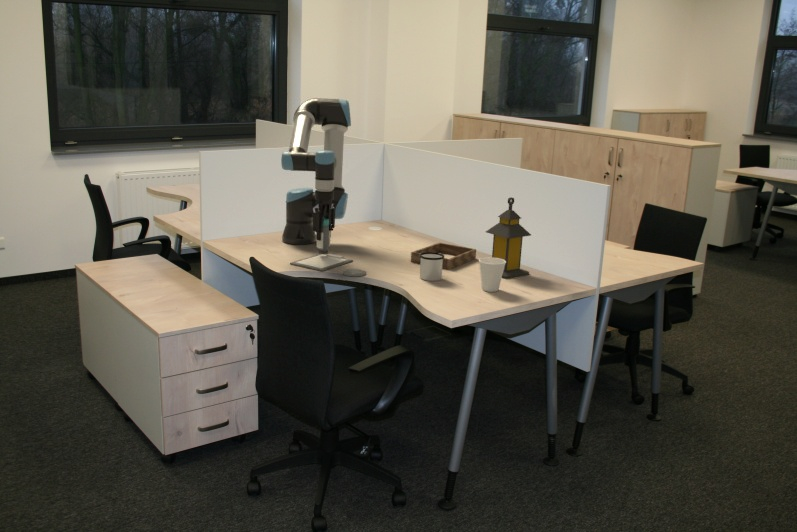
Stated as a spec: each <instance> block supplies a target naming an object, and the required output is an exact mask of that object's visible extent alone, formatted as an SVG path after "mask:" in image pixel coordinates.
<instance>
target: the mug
mask: <svg viewBox="0 0 797 532" xmlns="http://www.w3.org/2000/svg"><path fill="white" fill-rule="evenodd" d="M419 256H420V258H421V263H419V264H420V266H419V267H420V268H419V278H420V279H421V280H422V281H427V282H437V281H440V280H442V277H443V268H442V264H443V259H444V258H445V254H444V253H441V252H439V253H435V252H424V253H421V254H420V255H419Z"/></svg>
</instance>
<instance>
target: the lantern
mask: <svg viewBox="0 0 797 532" xmlns="http://www.w3.org/2000/svg"><path fill="white" fill-rule="evenodd" d="M507 204H508V209H506V210H505V211H503V212H502V213H500V215H498V216H497V218H499V222H498V223H496V224H494V225H493V226H492V227H490V228H489V229H487V230H486V231H485V233H487V234H491V235H493V238H492V240H493V241H492V250H491V251H492V252H491V257H493V258H500V259H503V260H505V261H506V263H505V267H504V271H503V274H502V278H501V279H505V280H509V279H515V278H519V277H523V276H529V275H530V271H528V270H525V269H522V268H521V261H522V260H521V259H522V248H523V237H530V236H532V234H531V233H530V232H529V231H528V230H526V229H525V227H523V226H522V224H520V220H521V219H522V217H521V216H520V215H519V214H518V213H517V212H516V211H515V210H513V206H514V204H515V198H514V197H508V198H507Z"/></svg>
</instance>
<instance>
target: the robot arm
mask: <svg viewBox="0 0 797 532" xmlns="http://www.w3.org/2000/svg"><path fill="white" fill-rule="evenodd" d="M350 108H351V107H350V103H349V101H348V100H347V99H340V98H321V97H320V98H317V97H316V98H315V97H314V98H310V99H307V100H305V101H304V102H303V103H301V104H300V105H298V107H297V108H296V110H295V112H294V114H293V119H292V122H293V129H292V134H291V138H290V143H289V147H288V151H282V153H281V159H280V160H281V168H282V170H285V171H291V172H293V171H294V172H315V173H314V175H315V177H314V179H315V181H314V182H315V184H314V185H315V186H314V188H311V187H299V188H293V189H291V190H288V191H287V192H286V196H285V197H286V201H285V204H286V205H285V206H286V207H285V208H286V209H285V210H286V211H285V214H286V215H285V226H284V229H283V233H282V235H281V240H282V242H283V243H286V244H290V245H310V244H314V243H316V248H317V249H318V248H321V249H323V232H322V228H323V221H324V218H327V219H329V241H328V248H329V247H331V235H332V231H334V229H335V227H336V223H335V222H336V220H341V219H343V218H344V217H345V215H346V211H347V206H348V205H347V204H348V197H349V194H348V193H347V192H345V191H346V189H345V187H343V185H342V182H343V181H342V180H343V165H344V164H343V162H344V161H343V160H344V139H345V138H344V137H345V133H346V132H347V131H348V127H351V125H352V121H351V118H352V117H351V109H350ZM315 125H316V126H317V125H318V126H321V129H322V131H323V132H324V137H323V138H324V139H323V141H324V142H323V149H322V150H317V151H316V152H308V149H309V144H310V138H311V133H312V128H313V127H314V126H315ZM314 189H315V190H314Z"/></svg>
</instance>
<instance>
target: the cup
mask: <svg viewBox="0 0 797 532" xmlns="http://www.w3.org/2000/svg"><path fill="white" fill-rule="evenodd" d="M505 263H506V261H505V260H503V259H500V258H493V257H492V256H491V257H489V256H488V257H487V256H486V257H485V256H484V257H480V258H478V265H479V271H480V286H481V290H482V291H484V292H487V293H495V292H498V291H499V289H500V286H501V281H502V279H503V278H502V274H503V271H504V267H505Z"/></svg>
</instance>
